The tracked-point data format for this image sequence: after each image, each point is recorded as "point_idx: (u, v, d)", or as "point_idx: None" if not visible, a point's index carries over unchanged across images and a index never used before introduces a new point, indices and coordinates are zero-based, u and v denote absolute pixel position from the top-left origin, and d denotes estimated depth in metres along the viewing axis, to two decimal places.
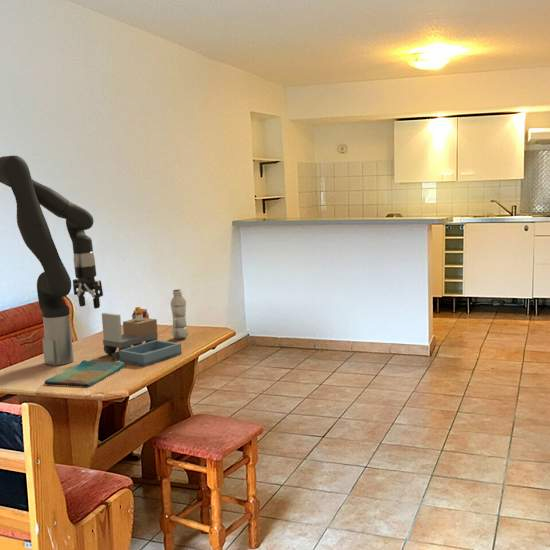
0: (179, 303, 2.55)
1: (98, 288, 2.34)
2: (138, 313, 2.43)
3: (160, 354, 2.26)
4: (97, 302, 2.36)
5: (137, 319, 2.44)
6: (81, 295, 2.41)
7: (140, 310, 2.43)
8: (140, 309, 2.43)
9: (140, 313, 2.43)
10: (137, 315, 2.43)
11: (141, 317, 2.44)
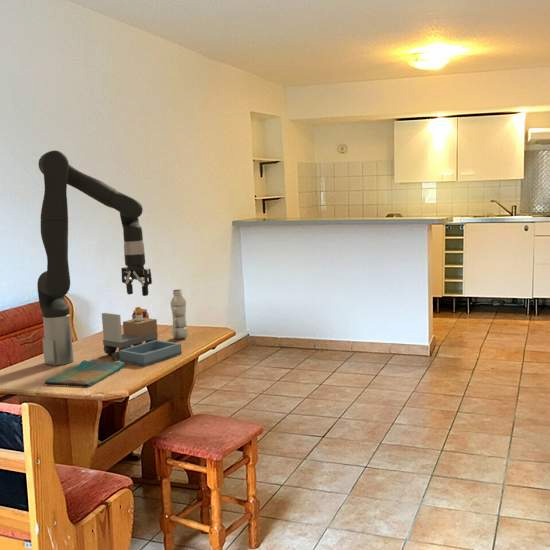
0: (179, 303, 2.55)
1: (147, 276, 2.38)
2: (138, 313, 2.43)
3: (160, 354, 2.26)
4: (146, 290, 2.40)
5: (137, 319, 2.44)
6: (129, 283, 2.45)
7: (140, 310, 2.43)
8: (140, 309, 2.43)
9: (140, 313, 2.43)
10: (137, 315, 2.43)
11: (141, 317, 2.44)
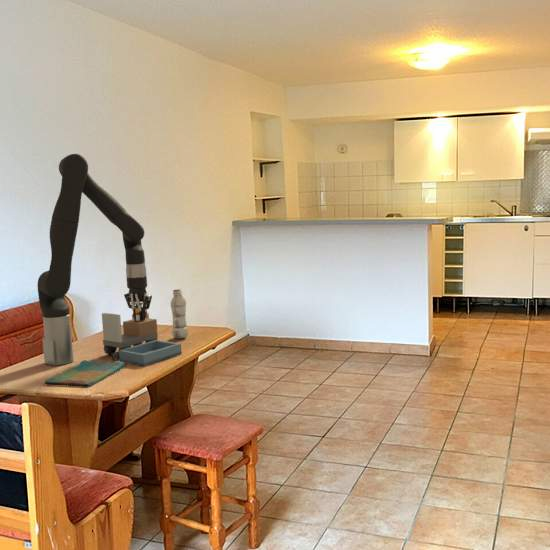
0: (179, 303, 2.55)
1: (147, 303, 2.40)
2: (138, 313, 2.43)
3: (160, 354, 2.26)
4: (143, 314, 2.43)
5: (137, 319, 2.44)
6: None
7: None
8: None
9: None
10: (137, 315, 2.43)
11: None
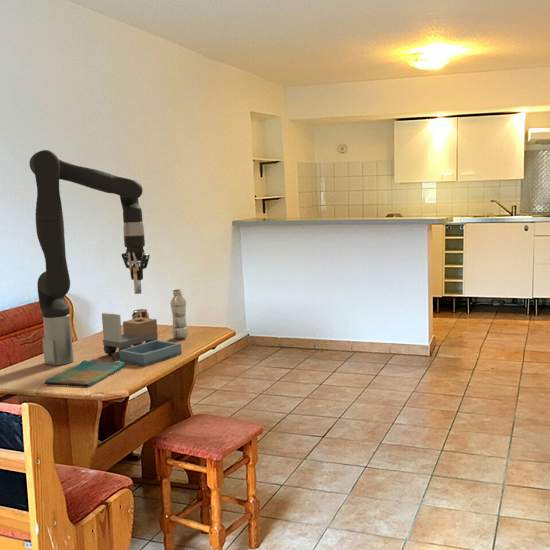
0: (179, 303, 2.55)
1: (145, 261, 2.37)
2: (136, 273, 2.40)
3: (160, 354, 2.26)
4: (140, 274, 2.40)
5: (134, 279, 2.41)
6: None
7: None
8: None
9: None
10: (134, 274, 2.40)
11: None
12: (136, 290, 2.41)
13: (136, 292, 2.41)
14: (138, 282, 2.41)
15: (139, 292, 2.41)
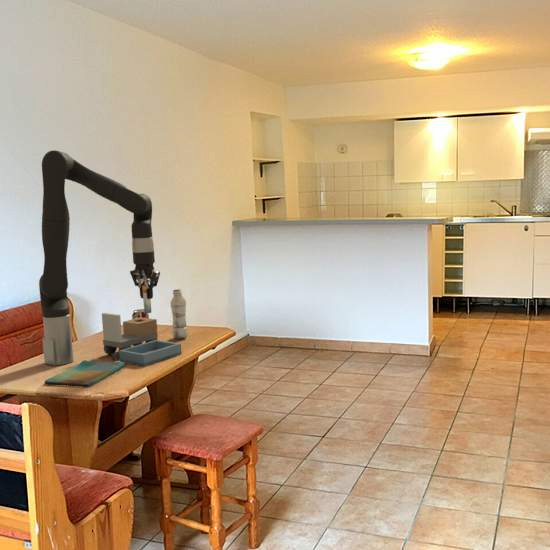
0: (179, 303, 2.55)
1: (155, 279, 2.24)
2: None
3: (160, 354, 2.26)
4: (150, 292, 2.27)
5: (144, 297, 2.28)
6: None
7: None
8: None
9: None
10: (144, 293, 2.27)
11: None
12: (146, 309, 2.28)
13: (146, 311, 2.28)
14: (148, 301, 2.28)
15: (149, 311, 2.28)
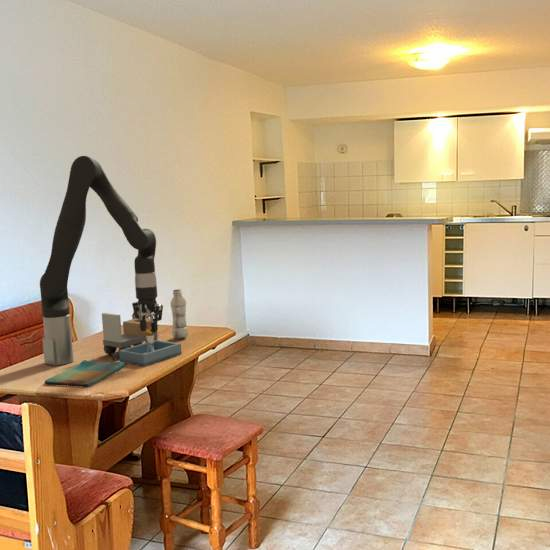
0: (179, 303, 2.55)
1: (159, 313, 2.25)
2: (149, 334, 2.29)
3: (160, 354, 2.26)
4: (155, 326, 2.28)
5: (148, 340, 2.30)
6: (143, 319, 2.31)
7: None
8: None
9: (151, 334, 2.29)
10: (148, 336, 2.29)
11: (152, 338, 2.30)
12: None
13: None
14: (151, 344, 2.30)
15: None
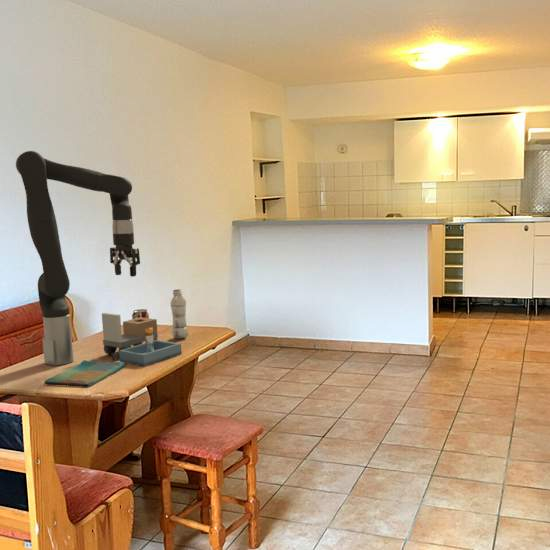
0: (179, 303, 2.55)
1: (136, 255, 2.32)
2: (148, 334, 2.29)
3: (160, 354, 2.26)
4: (134, 270, 2.34)
5: (147, 340, 2.30)
6: (117, 264, 2.40)
7: (150, 331, 2.29)
8: (150, 330, 2.29)
9: (150, 334, 2.30)
10: (147, 336, 2.30)
11: (151, 338, 2.30)
12: None
13: None
14: (151, 344, 2.30)
15: None
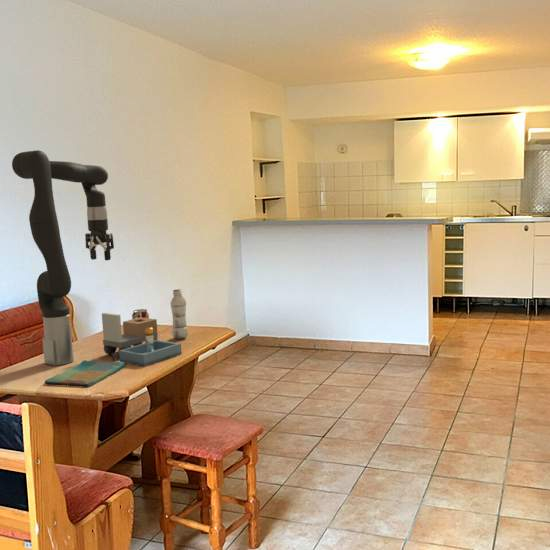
0: (179, 303, 2.55)
1: (109, 240, 2.45)
2: (149, 334, 2.29)
3: (160, 354, 2.26)
4: (108, 254, 2.47)
5: (147, 340, 2.30)
6: (93, 248, 2.53)
7: (150, 331, 2.29)
8: (150, 330, 2.29)
9: (150, 334, 2.29)
10: (147, 336, 2.29)
11: (151, 338, 2.30)
12: None
13: None
14: (151, 344, 2.30)
15: None
